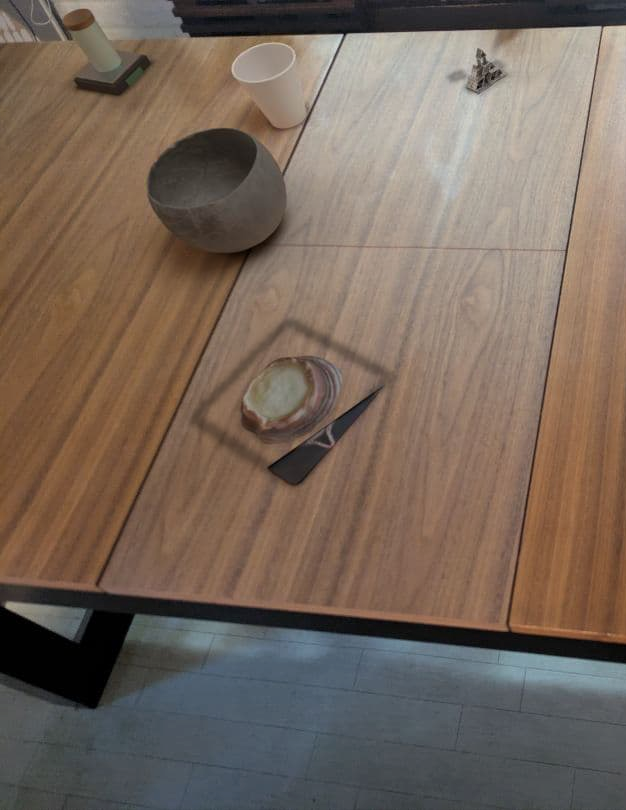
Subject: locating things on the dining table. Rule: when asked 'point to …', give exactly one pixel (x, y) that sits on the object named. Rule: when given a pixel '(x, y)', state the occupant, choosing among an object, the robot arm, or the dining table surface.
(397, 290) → the dining table surface
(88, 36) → the jar
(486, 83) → the stone castle ruin model
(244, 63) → the cup
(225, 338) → the dining table surface
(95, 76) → the scale
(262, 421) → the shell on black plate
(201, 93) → the dining table surface
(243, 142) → the bowl
